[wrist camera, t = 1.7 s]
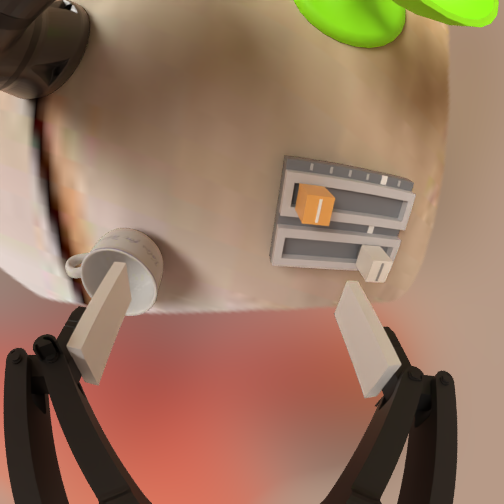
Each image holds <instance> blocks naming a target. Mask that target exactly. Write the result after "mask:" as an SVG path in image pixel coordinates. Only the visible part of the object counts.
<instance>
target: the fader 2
mask: <svg viewBox="0 0 504 504" xmlns="http://www.w3.org/2000/svg"><path fill="white" fill-rule="evenodd" d="M356 258H357V261H356V264H355V265H356V267H357V269H358V270H359V272H360V273H361V275H362V277H363V278H364V280H365V282H378V283H385V281H386V279H387V276H388V274H389V271H390V269H391V266H392V264H393V261H392V260H391V259H390V258H389V256H388V255H387V254H386V253H385V251H384V250H383V249H382V248H381V247H380V246H371V245H359V247H358V250H357V253H356Z"/></svg>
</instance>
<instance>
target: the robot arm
mask: <svg viewBox="0 0 504 504" xmlns="http://www.w3.org/2000/svg"><path fill="white" fill-rule="evenodd" d="M89 31H90V24H89V18H88V15H87V13H86V11H85V10H84V9H83V7H81V6H80V5H78V4H76V3H74V2H72V1H69V0H0V90H1V91H3V92H6V93H8V94H11V95H13V96H16V97H18V98H22V99H33V98H40V97H44V96H46V95H49V94H51V93H52V92H54V91H55V90H57V89H58V88H59V87H60V86H62V85H63V84H64V83H65V82H66V80H67V79H68V78H69V77H70V76H71V75H72V73H73V72H74V70H75V69H76V67H77V66H78V64H79V62H80V60H81V58H82V56H83V54H84V52H85V49H86V46H87V42H88V38H89ZM131 300H132V298H131V292H130V286H129V279H128V273H127V266H126V263H123V262H114V263H113V265H112V266H111V268H110V269H109V271H108V273H107V274H106V276H105V277H104V279H103V281H102V282H101V284H100V286H99V287H98V289H97V291H96V292H95V294H94V296H93V297H92V299H91V301H90V303H89V304H88V306H87V308H86V307H80V306H79V307H78V308H77V309H75V310H74V311H73V312H72V313H71V315H70V317H69V319H68V321H67V322H66V324H65V326H64V327H63V329H62V331H61V333H60V335H59V336H58V338H57V340H56V338H55V337H54V336H52V335H49V334H46V335H42V336H40V337H38V338H37V339H36V340H35V342H34V344H33V350H34V352H35V354H36V355H27V353H26V351H25V350H24V349H22V348H16V349H13V350H12V351H10V353H9V354H8V356H7V359H6V369H5V382H4V435H5V447H6V457H7V465H8V471H9V477H10V482H11V488H12V493H13V497H14V501H15V504H69V502H68V499H67V496H66V493H65V489H64V485H63V482H62V478H61V474H60V470H59V465H58V461H57V456H56V451H55V445H54V439H53V433H52V426H51V417H50V408H49V397H48V394H49V395H50V398H51V401H52V403H53V406H54V409H55V412H56V415H57V418H58V420H59V423H60V425H61V428H62V430H63V432H64V435H65V437H66V439H67V442H68V444H69V446H70V448H71V451H72V453H73V455H74V457H75V459H76V461H77V463H78V465H79V467H80V469H81V470H82V472H83V474H84V476H85V478H86V480H87V481H88V483H89V485H90V487H91V488H92V490H93V492H94V493H95V495H96V497H97V498H98V501H99V504H152V503H151V502H150V501H149V500H148V499H147V498H146V497H145V495H144V494H143V493H142V491H141V490H140V489H139V487H138V486H137V484H136V483H135V482H134V480H133V479H132V478H131V476H130V474H129V473H128V471H127V470H126V468H125V467H124V466H123V464H122V462H121V461H120V459H119V458H118V456H117V455H116V453H115V451H114V449H113V448H112V446H111V444H110V442H109V441H108V439H107V437H106V435H105V434H104V432H103V430H102V428H101V426H100V424H99V422H98V420H97V418H96V417H95V414H94V412H93V410H92V408H91V406H90V404H89V402H88V400H87V398H86V395H85V393H84V391H83V389H82V386H81V384H80V382H79V381H80V378H81V376H82V377H83V379H84V381H85V382H87V383H91V384H95V385H99V382H100V380H101V377H102V374H103V371H104V368H105V365H106V363H107V360H108V357H109V354H110V352H111V349H112V346H113V344H114V341H115V339H116V336H117V333H118V331H119V329H120V326H121V323H122V321H123V319H124V316H125V314H126V312H127V309H128V307H129V305H130V302H131ZM334 315H335V318H336V320H337V323H338V325H339V328H340V331H341V333H342V336H343V339H344V341H345V344H346V346H347V349H348V352H349V355H350V357H351V360H352V363H353V366H354V369H355V372H356V374H357V377H358V380H359V383H360V386H361V389H362V392H363V395H364V398H368V397H374V396H377V395H378V394H379V393H380V392H381V390H382V391H383V394H384V396H383V397H382V398H381V399H380V400H379V401H378V403H377V404H376V405H375V406H378V407H377V409H376V411H375V413H374V416H373V418H372V420H371V422H370V424H369V426H368V428H367V430H366V432H365V434H364V436H363V438H362V440H361V441H360V443H359V445H358V447H357V449H356V451H355V452H354V454H353V456H352V458H351V459H350V461H349V463H348V464H347V466H346V468H345V470H344V471H343V473H342V474H341V476H340V478H339V479H338V481H337V482H336V484H335V485H334V487H333V488H332V490H331V491H330V493H329V494H328V496H327V497H326V498H325V499H324V501H322V502H321V503H320V504H382V503H381V502H380V498H381V496H382V494H383V492H384V490H385V488H386V485H387V484H388V482H389V479H390V477H391V475H392V473H393V471H394V469H395V466H396V464H397V462H398V459H399V457H400V454H401V452H402V450H403V447H404V444H405V442H406V438H407V436H408V434H409V438H408V447H407V455H406V462H405V469H404V474H403V479H402V484H401V489H400V494H399V498H398V503H397V504H453V498H454V489H455V480H456V467H457V466H456V465H457V410H456V397H455V386H454V380H453V378H452V376H451V375H450V374H449V373H448V372H445V371H439V372H438V373H437V374H436V375H435V376H428V375H424V374H423V373H422V371H421V370H420V369H418V368H417V367H414V366H411V364H410V362H409V360H408V358H407V356H406V354H405V352H404V350H403V348H402V347H401V345H400V343H399V341H398V339H397V337H396V335H395V333H394V332H393V331H392V330H391V329H390V328H389V327H383V326H382V324H381V322H380V321H379V319H378V317H377V315H376V313H375V311H374V310H373V307H372V306H371V304H370V302H369V300H368V298H367V297H366V295H365V293H364V291H363V289H362V288H361V286H360V284H359V282H358V281H349V280H347V282H346V284H345V287H344V290H343V292H342V295H341V298H340V300H339V303H338V305H337V308H336V310H335V313H334ZM378 404H379V405H378Z"/></svg>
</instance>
